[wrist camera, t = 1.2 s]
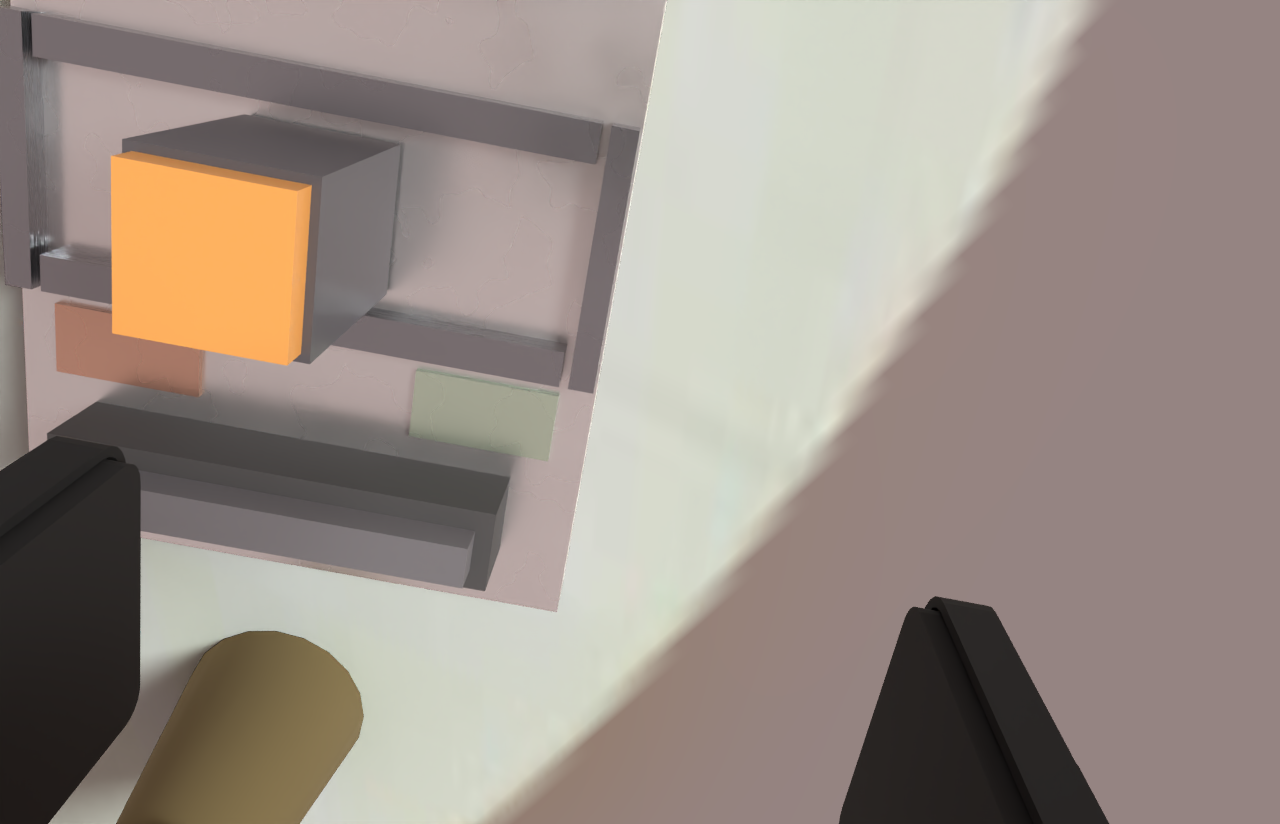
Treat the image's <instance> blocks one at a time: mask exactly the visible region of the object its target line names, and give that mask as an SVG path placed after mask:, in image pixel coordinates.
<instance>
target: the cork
mask: <svg viewBox="0 0 1280 824" xmlns="http://www.w3.org/2000/svg"><path fill="white" fill-rule="evenodd" d="M363 717H364V715H363V709H362V703H361V696H360V693H359V691H358V689H357V687H356V685H355V683H354V682H353V680H352V678H351V676H350V674H349V672H348V671H347V670H346V669H345V668H344V667H343V666H342V665H341V664H340V663H339V662H338V661H337V660H336V659H335V658H334V657H333V656H332V655H331V654H330V653H329V652H327V651H325V650H323V649H322V648H320V647H318V646H316V645H315V644H313V643H311V642H309V641H307V640H306V639H304V638H300V637H296V636H292V635H289V634H285V633H281V632H277V631H248V632H245V633H242V634H239V635H235V636H232V637H229V638H226V639H223V640H222V641H221V642H219V643H218V644H217V645H215V646H214V647H212V648H211V649H210V650H208V651H207V652H206V653H205V654H204V655H203V657H202V659H201V660H200V662H199V663H198V665H197V667H196V668H195V670H194V672H193V673H192V675H191V677H190V679H189V681H188V683H187V685H186V687H185V689H184V691H183V693H182V695H181V697H180V699H179V701H178V703H177V705H176V707H175V709H174V711H173V713H172V715H171V717H170V719H169V721H168V723H167V725H166V727H165V729H164V730H163V732H162V734H161V736H160V738H159V740H158V742H157V744H156V746H155V748H154V750H153V752H152V754H151V756H150V758H149V760H148V762H147V764H146V766H145V768H144V770H143V772H142V774H141V776H140V778H139V780H138V782H137V784H136V785H135V787H134V789H133V791H132V793H131V795H130V797H129V799H128V801H127V803H126V805H125V807H124V809H123V811H122V813H121V815H120V817H119V819H118V821H117V823H116V824H300V822H301V821H302V819H303V818H304V816H305V815H306V814H307V812H308V811H309V809H310V808H311V806H312V805H313V803H314V802H315V800H316V799H317V798H318V796H319V795H320V793H321V792H322V790H323V789H324V787H325V786H326V784H327V783H328V782H329V780H330V779H331V777H332V776H333V774H334V773H335V771H336V770H337V768H338V767H339V766H340V764H341V763H342V761H343V760H344V758H345V757H346V755H347V754H348V752H349V751H350V750H351V748H352V747H353V745H354V744H355V742H356V741H357V739H358V738H359V734H360V730H361V726H362V721H363Z"/></svg>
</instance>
